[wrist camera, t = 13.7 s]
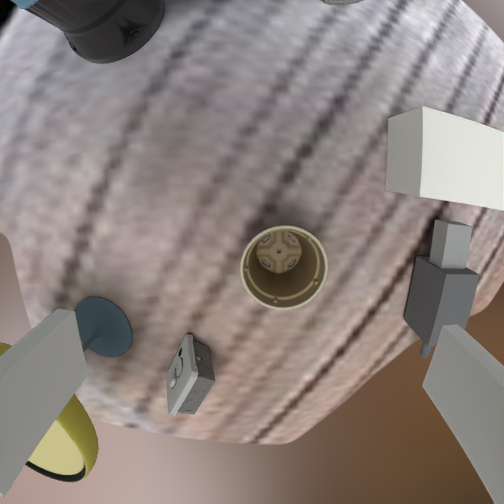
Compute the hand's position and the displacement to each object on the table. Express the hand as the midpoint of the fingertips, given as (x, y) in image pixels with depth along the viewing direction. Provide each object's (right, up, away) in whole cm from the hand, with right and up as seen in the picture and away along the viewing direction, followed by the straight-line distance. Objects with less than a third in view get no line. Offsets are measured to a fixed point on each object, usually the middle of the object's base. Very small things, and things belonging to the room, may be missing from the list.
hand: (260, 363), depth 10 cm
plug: (+26, -1, +32) cm, 41 cm away
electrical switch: (-9, -13, +37) cm, 40 cm away
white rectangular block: (+27, +16, +28) cm, 42 cm away
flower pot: (+3, +4, +32) cm, 32 cm away
